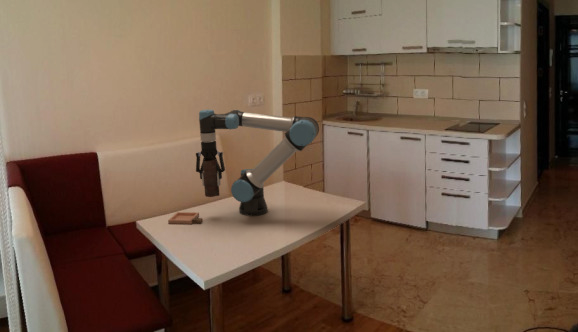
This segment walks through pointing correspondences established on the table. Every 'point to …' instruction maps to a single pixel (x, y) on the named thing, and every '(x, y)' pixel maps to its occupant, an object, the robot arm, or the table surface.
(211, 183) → the dark brown tall piece
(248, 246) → the table surface
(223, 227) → the table surface
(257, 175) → the robot arm
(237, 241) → the table surface
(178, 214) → the dish
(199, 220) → the matchbox
